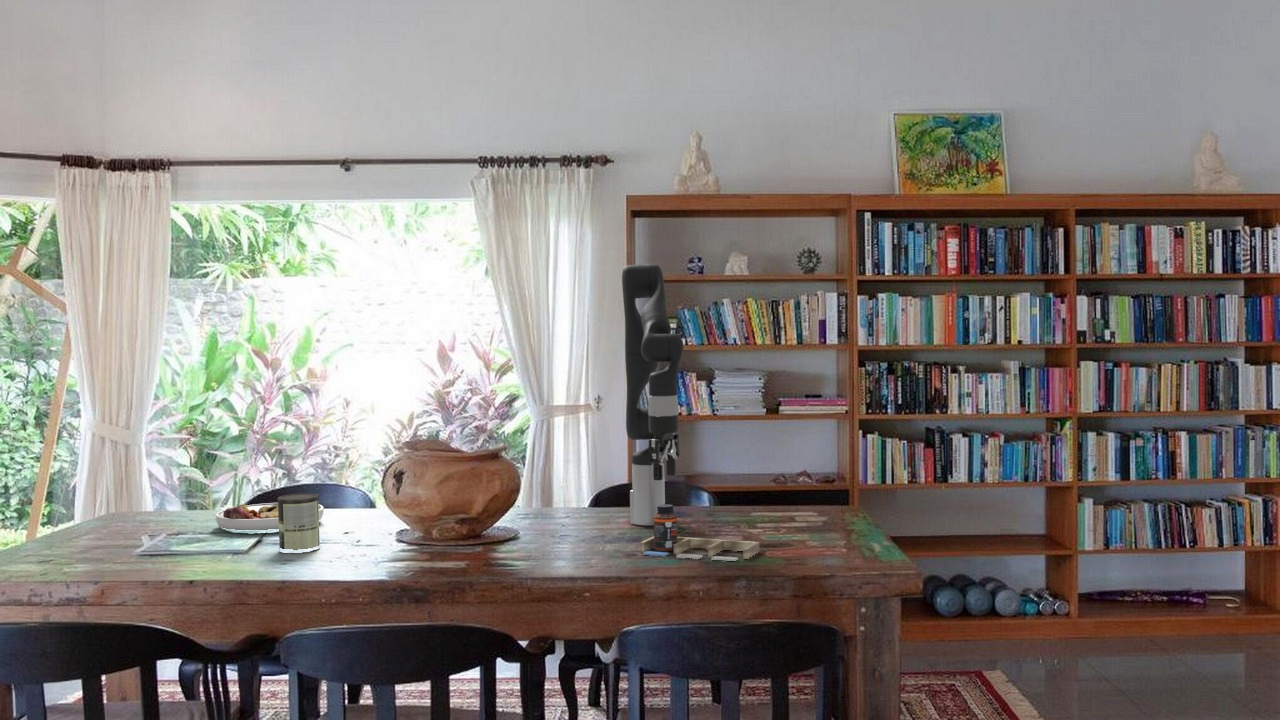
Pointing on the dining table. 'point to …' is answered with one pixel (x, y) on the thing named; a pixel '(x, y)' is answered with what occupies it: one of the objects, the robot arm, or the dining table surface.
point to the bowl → (252, 517)
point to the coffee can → (298, 521)
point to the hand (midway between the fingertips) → (664, 477)
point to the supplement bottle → (665, 528)
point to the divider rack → (707, 545)
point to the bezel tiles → (689, 556)
